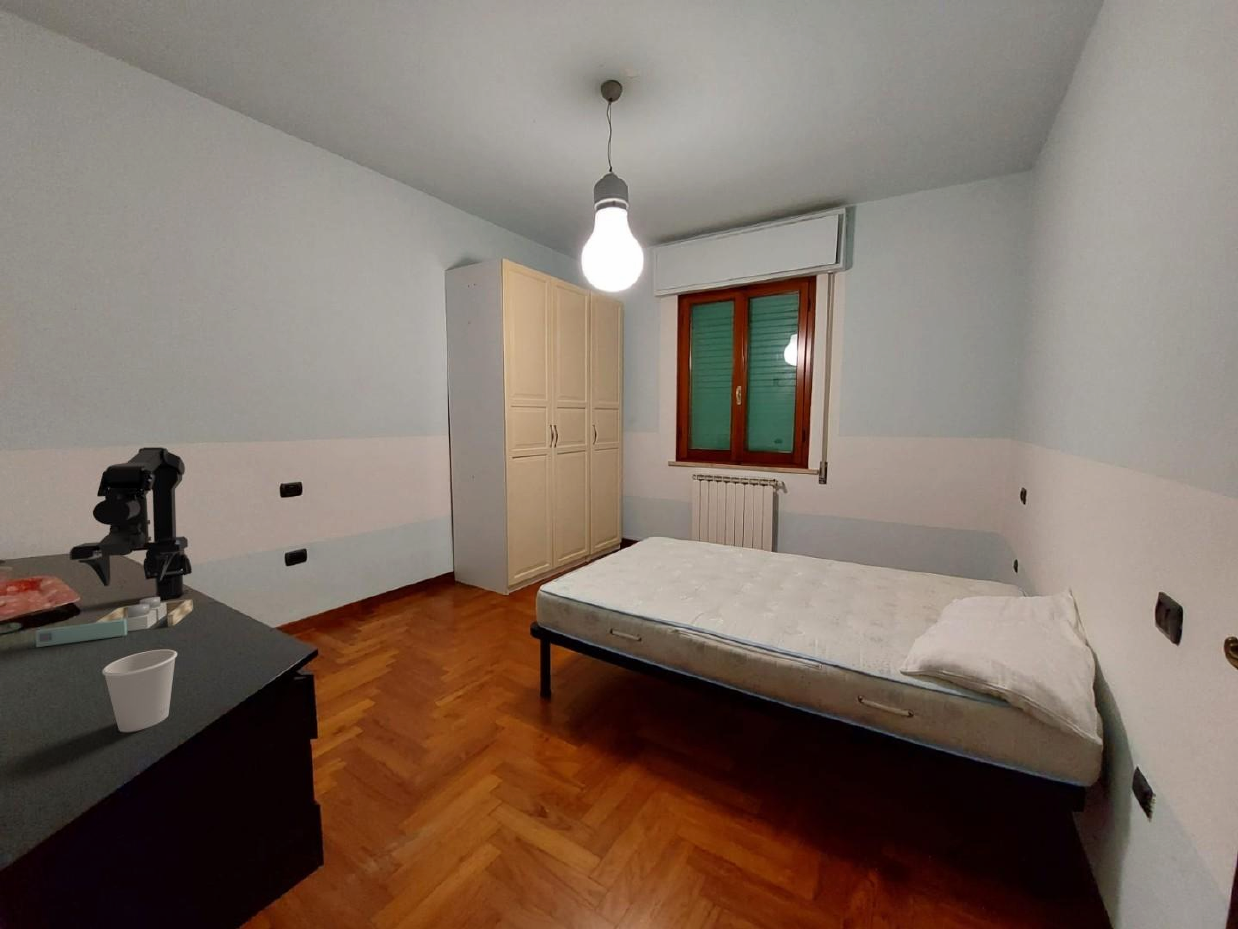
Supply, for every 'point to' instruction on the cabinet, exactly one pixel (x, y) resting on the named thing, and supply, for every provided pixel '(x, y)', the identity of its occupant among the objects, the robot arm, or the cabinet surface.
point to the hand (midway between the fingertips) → (133, 583)
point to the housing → (176, 614)
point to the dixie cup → (141, 688)
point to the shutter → (80, 632)
